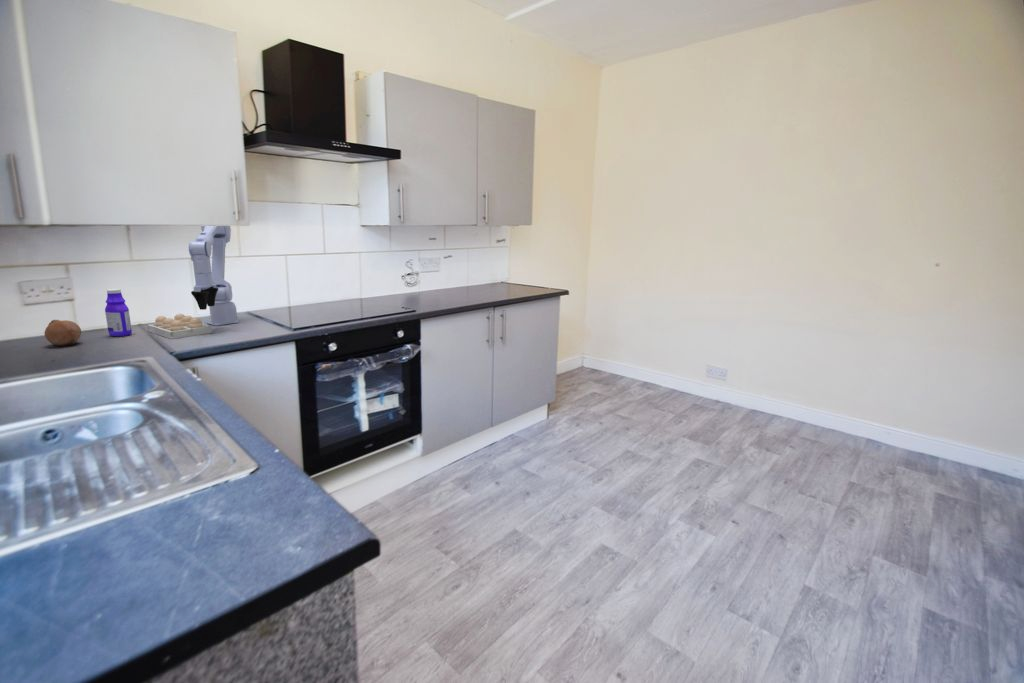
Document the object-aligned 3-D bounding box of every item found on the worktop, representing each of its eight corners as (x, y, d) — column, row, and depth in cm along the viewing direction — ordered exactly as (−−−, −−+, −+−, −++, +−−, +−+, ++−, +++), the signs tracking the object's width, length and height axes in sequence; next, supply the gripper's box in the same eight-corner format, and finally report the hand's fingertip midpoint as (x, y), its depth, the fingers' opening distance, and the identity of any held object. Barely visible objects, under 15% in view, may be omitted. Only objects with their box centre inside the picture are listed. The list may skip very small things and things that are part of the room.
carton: (187, 325, 208) (185, 311, 206) (211, 332, 196) (209, 317, 195) (148, 331, 197) (145, 316, 195) (171, 339, 185) (169, 323, 184)
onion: (53, 354, 173) (33, 329, 170) (82, 341, 181) (63, 317, 178) (62, 348, 168) (41, 322, 165) (92, 335, 175) (72, 310, 173)
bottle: (136, 334, 192) (129, 288, 188) (123, 337, 186) (115, 290, 182) (118, 333, 192) (111, 288, 188) (105, 336, 187) (97, 290, 183)
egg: (199, 329, 198) (198, 316, 197) (204, 330, 196) (203, 317, 195) (188, 330, 195) (187, 317, 193) (193, 331, 192) (192, 319, 191)
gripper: (206, 274, 187) (210, 310, 190) (221, 271, 201) (225, 304, 204) (185, 274, 186) (190, 311, 189) (202, 271, 200) (206, 304, 203)
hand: (207, 307), depth 197 cm, fingers open, 7 cm apart
